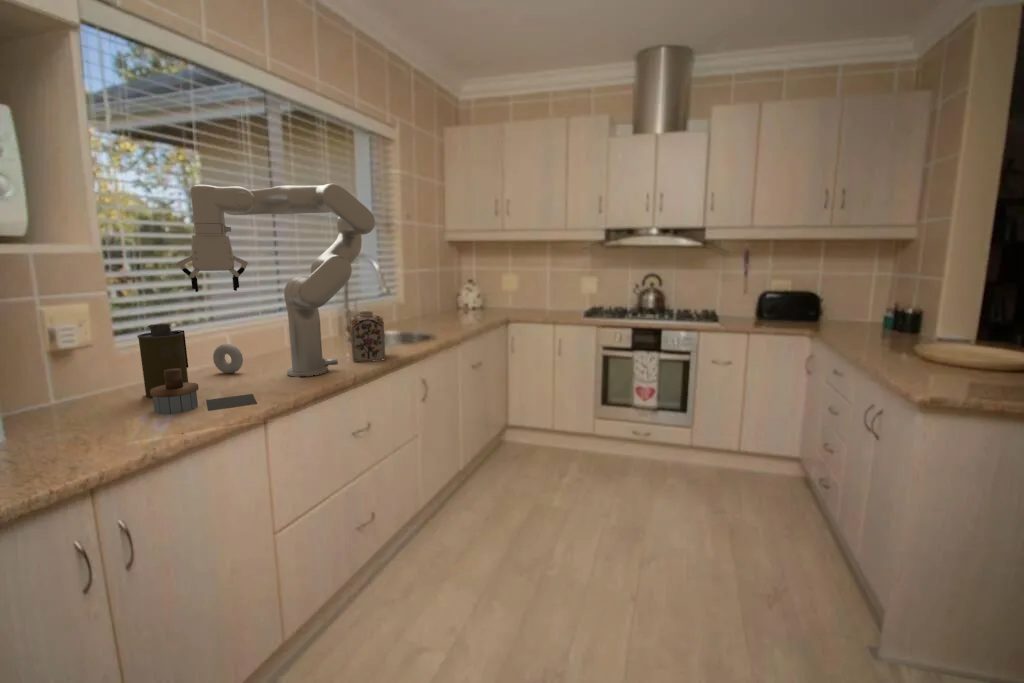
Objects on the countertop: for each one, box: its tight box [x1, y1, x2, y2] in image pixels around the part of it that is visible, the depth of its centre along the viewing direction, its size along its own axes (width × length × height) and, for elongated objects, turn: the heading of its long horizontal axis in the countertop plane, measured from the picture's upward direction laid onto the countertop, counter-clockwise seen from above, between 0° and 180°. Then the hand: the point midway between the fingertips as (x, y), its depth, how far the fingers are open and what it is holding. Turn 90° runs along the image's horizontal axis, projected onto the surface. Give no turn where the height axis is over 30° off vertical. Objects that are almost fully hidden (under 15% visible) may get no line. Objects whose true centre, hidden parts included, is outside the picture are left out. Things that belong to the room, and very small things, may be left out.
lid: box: [150, 368, 200, 397], centre depth 123 cm, size 10×10×6 cm
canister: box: [137, 323, 189, 399], centre depth 136 cm, size 11×10×20 cm
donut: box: [212, 343, 244, 374], centre depth 162 cm, size 10×4×10 cm, turn 81°
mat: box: [206, 393, 258, 412], centre depth 130 cm, size 11×11×1 cm
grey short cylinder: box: [152, 391, 199, 415], centre depth 124 cm, size 9×9×5 cm
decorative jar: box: [349, 310, 386, 363], centre depth 186 cm, size 12×12×18 cm
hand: (216, 291), depth 143 cm, fingers open, 9 cm apart
